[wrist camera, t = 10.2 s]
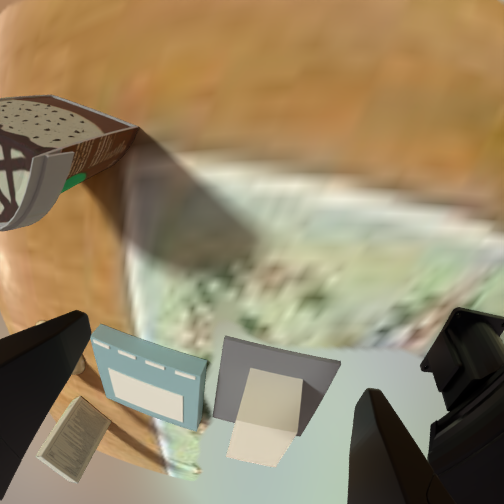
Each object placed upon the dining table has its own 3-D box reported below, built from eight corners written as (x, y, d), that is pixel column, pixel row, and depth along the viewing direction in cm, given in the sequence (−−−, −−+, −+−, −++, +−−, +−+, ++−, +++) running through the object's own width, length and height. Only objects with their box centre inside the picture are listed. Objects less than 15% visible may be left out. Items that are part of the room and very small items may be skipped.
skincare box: (72, 399, 36) (33, 455, 25) (80, 394, 35) (39, 455, 24) (102, 425, 38) (69, 482, 27) (113, 422, 36) (78, 484, 25)
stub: (303, 379, 24) (297, 432, 19) (283, 421, 27) (275, 467, 22) (250, 367, 24) (235, 419, 19) (238, 411, 27) (225, 456, 22)
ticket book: (207, 360, 25) (199, 377, 23) (201, 417, 30) (196, 432, 28) (100, 323, 26) (89, 336, 24) (114, 385, 31) (106, 398, 29)
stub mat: (340, 361, 23) (340, 364, 22) (300, 433, 28) (300, 436, 28) (225, 335, 24) (224, 338, 23) (213, 414, 29) (212, 417, 29)
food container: (28, 158, 20) (-62, 192, 11) (41, 91, 18) (-59, 105, 9) (132, 214, 21) (34, 283, 12) (157, 134, 18) (41, 161, 9)
